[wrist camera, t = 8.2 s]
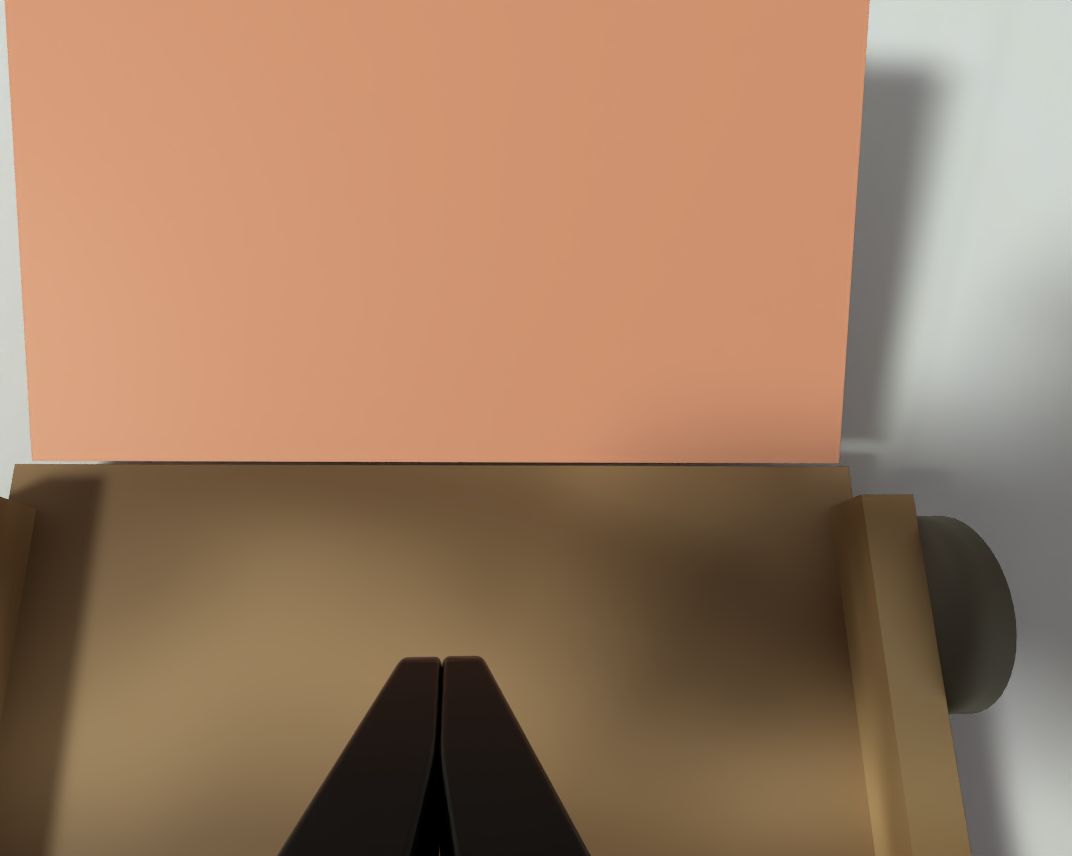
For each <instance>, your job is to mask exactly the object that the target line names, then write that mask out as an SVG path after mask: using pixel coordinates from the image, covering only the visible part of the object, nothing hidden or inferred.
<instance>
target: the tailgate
mask: <svg viewBox="0 0 1072 856" xmlns="http://www.w3.org/2000/svg"><path fill="white" fill-rule="evenodd" d="M869 1H870V0H5V13H6V30H7V47H8V64H9V81H10V97H11V114H12V131H13V148H14V165H15V182H16V198H17V215H18V232H19V249H20V266H21V283H22V299H23V316H24V333H25V350H26V367H27V384H28V400H29V417H30V434H31V451H32V461H272V462H587V463H839V455H840V440H841V425H842V409H843V394H844V379H845V364H846V349H847V334H848V319H849V304H850V289H851V273H852V258H853V243H854V228H855V213H856V198H857V183H858V168H859V153H860V137H861V122H862V107H863V92H864V77H865V62H866V47H867V32H868V17H869Z"/></svg>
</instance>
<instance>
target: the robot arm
mask: <svg viewBox="0 0 1072 856" xmlns="http://www.w3.org/2000/svg"><path fill="white" fill-rule="evenodd" d="M439 853H440V856H591V855H590V853H589V851H588V849H587V848H586V846H585V844H584V842H583V840H582V838H581V837H580V835H579V833H578V831H577V829H576V827H575V826H574V824H573V822H572V820H571V818H570V816H569V814H568V813H567V811H566V809H565V807H564V805H563V803H562V802H561V800H560V798H559V796H558V794H557V792H556V791H555V789H554V787H553V785H552V783H551V781H550V780H549V778H548V776H547V774H546V772H545V770H544V768H543V767H542V765H541V763H540V761H539V759H538V757H537V756H536V754H535V752H534V750H533V748H532V746H531V745H530V743H529V741H528V739H527V737H526V735H525V734H524V732H523V730H522V728H521V726H520V724H519V722H518V721H517V719H516V717H515V715H514V713H513V711H512V710H511V708H510V706H509V704H508V702H507V700H506V699H505V697H504V695H503V693H502V691H501V689H500V688H499V686H498V684H497V682H496V680H495V678H494V676H493V675H492V673H491V671H490V669H489V667H488V665H487V664H486V662H485V661H484V659H483V658H482V657H480V656H448V657H446V658H445V659H444V660H443V663H441V660H440V659H439V658H438V657H406V658H403V659H402V660H400V661H399V663H398V664H397V665H396V667H395V669H394V670H393V672H392V673H391V675H390V677H389V678H388V680H387V681H386V683H385V684H384V686H383V688H382V689H381V691H380V692H379V694H378V696H377V697H376V699H375V700H374V702H373V704H372V705H371V707H370V708H369V710H368V712H367V713H366V715H365V716H364V718H363V719H362V721H361V723H360V724H359V726H358V727H357V729H356V731H355V732H354V734H353V735H352V737H351V739H350V740H349V742H348V743H347V745H346V746H345V748H344V750H343V751H342V753H341V754H340V756H339V758H338V759H337V761H336V762H335V764H334V766H333V767H332V769H331V770H330V772H329V773H328V775H327V777H326V778H325V780H324V781H323V783H322V785H321V786H320V788H319V789H318V791H317V793H316V794H315V796H314V797H313V799H312V801H311V802H310V804H309V805H308V807H307V808H306V810H305V812H304V813H303V815H302V816H301V818H300V820H299V821H298V823H297V824H296V826H295V828H294V829H293V831H292V832H291V834H290V835H289V837H288V839H287V840H286V842H285V843H284V845H283V847H282V848H281V850H280V851H279V853H278V855H277V856H439Z"/></svg>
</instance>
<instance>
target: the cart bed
mask: <svg viewBox="0 0 1072 856" xmlns="http://www.w3.org/2000/svg"><path fill="white" fill-rule="evenodd" d="M1015 653H1016V620H1015V613H1014V606H1013V602H1012V598H1011V594H1010V590H1009V587H1008V584H1007V581H1006V578H1005V576H1004V574H1003V571H1002V569H1001V567H1000V565H999V563H998V561H997V559H996V558H995V556H994V554H993V553H992V551H991V550H990V548H989V547H988V545H987V544H986V543H985V542H984V540H983V539H982V538H981V537H980V536H979V535H978V534H977V533H976V532H975V531H974V530H973V529H972V528H970V527H969V526H967V525H966V524H964V523H963V522H961V521H959V520H956V519H954V518H950V517H943V516H916V510H915V504H914V498H913V495H860V496H857V497H854V498H853V497H852V490H851V482H850V475H849V468H848V466H502V465H140V464H15V467H14V473H13V478H12V484H11V490H10V495H9V500H8V499H5V498H2V497H0V856H277V855H278V853H279V851H280V850H281V848H282V847H283V845H284V843H285V842H286V840H287V839H288V837H289V835H290V834H291V832H292V831H293V829H294V828H295V826H296V824H297V823H298V821H299V820H300V818H301V816H302V815H303V813H304V812H305V810H306V808H307V807H308V805H309V804H310V802H311V801H312V799H313V797H314V796H315V794H316V793H317V791H318V789H319V788H320V786H321V785H322V783H323V781H324V780H325V778H326V777H327V775H328V773H329V772H330V770H331V769H332V767H333V766H334V764H335V762H336V761H337V759H338V758H339V756H340V754H341V753H342V751H343V750H344V748H345V746H346V745H347V743H348V742H349V740H350V739H351V737H352V735H353V734H354V732H355V731H356V729H357V727H358V726H359V724H360V723H361V721H362V719H363V718H364V716H365V715H366V713H367V712H368V710H369V708H370V707H371V705H372V704H373V702H374V700H375V699H376V697H377V696H378V694H379V692H380V691H381V689H382V688H383V686H384V684H385V683H386V681H387V680H388V678H389V677H390V675H391V673H392V672H393V670H394V669H395V667H396V665H397V664H398V663H399V661H400V660H402V659H403V658H406V657H438V658H439V659H440V660H441V663H443V660H444V659H445V658H446V657H448V656H480V657H482V658H483V659H484V661H485V662H486V664H487V665H488V667H489V669H490V671H491V673H492V675H493V676H494V678H495V680H496V682H497V684H498V686H499V688H500V689H501V691H502V693H503V695H504V697H505V699H506V700H507V702H508V704H509V706H510V708H511V710H512V711H513V713H514V715H515V717H516V719H517V721H518V722H519V724H520V726H521V728H522V730H523V732H524V734H525V735H526V737H527V739H528V741H529V743H530V745H531V746H532V748H533V750H534V752H535V754H536V756H537V757H538V759H539V761H540V763H541V765H542V767H543V768H544V770H545V772H546V774H547V776H548V778H549V780H550V781H551V783H552V785H553V787H554V789H555V791H556V792H557V794H558V796H559V798H560V800H561V802H562V803H563V805H564V807H565V809H566V811H567V813H568V814H569V816H570V818H571V820H572V822H573V824H574V826H575V827H576V829H577V831H578V833H579V835H580V837H581V838H582V840H583V842H584V844H585V846H586V848H587V849H588V851H589V853H590V855H591V856H971V850H970V844H969V838H968V832H967V825H966V819H965V813H964V807H963V801H962V795H961V788H960V782H959V776H958V770H957V764H956V757H955V751H954V745H953V739H952V733H951V727H950V720H949V714H967V713H976V712H981V711H983V710H985V709H987V708H989V707H990V706H991V705H992V704H994V703H995V702H996V701H997V699H998V698H999V697H1000V696H1001V695H1002V693H1003V691H1004V689H1005V688H1006V686H1007V684H1008V681H1009V679H1010V676H1011V673H1012V669H1013V665H1014V660H1015ZM439 856H440V853H439Z"/></svg>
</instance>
